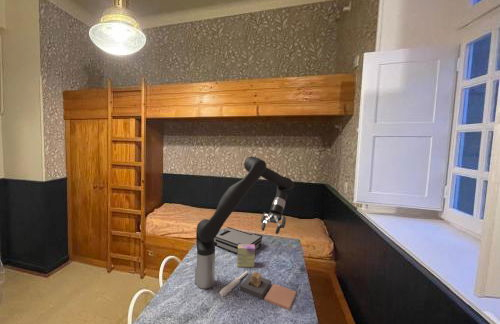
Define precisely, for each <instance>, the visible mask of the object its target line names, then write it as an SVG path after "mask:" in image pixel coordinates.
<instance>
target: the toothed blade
mask: <svg viewBox="0 0 500 324" xmlns="http://www.w3.org/2000/svg"><path fill="white" fill-rule="evenodd" d="M248 274H249V272H248V271H247V270H246V271H245V272H243V273H242V274H241V275H240V276H235V277H234V280H232V281H231V282H229V283H228V284H227V285H225V286H224V287H222V288H221V289H220V290H219V295H220V296H221V297H222V298H224V297H226V296H227V295H228V294H229V293H231V291H233V289H235V287H236V286H238V285H240V284H241V280H242V279H243V278H244V277H245V276H246V275H248Z"/></svg>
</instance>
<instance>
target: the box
mask: <svg viewBox="0 0 500 324" xmlns="http://www.w3.org/2000/svg"><path fill="white" fill-rule="evenodd" d="M255 255H256V249H255V245H254V244H238V255H237V259H236V260H237V261H236V266H237V268H255V260H256V259H255V257H256V256H255Z"/></svg>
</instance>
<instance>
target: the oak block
mask: <svg viewBox="0 0 500 324" xmlns="http://www.w3.org/2000/svg"><path fill="white" fill-rule="evenodd" d="M251 274H252V275H251V286H253V287H256V288H259V287H260V286H261V277H262V273H260V272H258V271H253V272H252V273H251Z"/></svg>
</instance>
